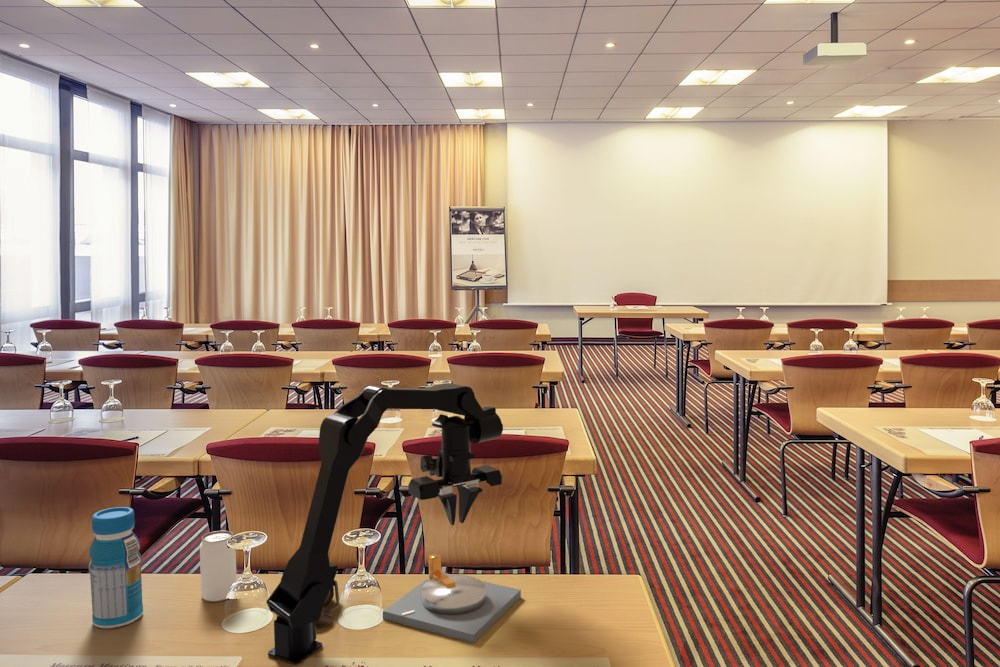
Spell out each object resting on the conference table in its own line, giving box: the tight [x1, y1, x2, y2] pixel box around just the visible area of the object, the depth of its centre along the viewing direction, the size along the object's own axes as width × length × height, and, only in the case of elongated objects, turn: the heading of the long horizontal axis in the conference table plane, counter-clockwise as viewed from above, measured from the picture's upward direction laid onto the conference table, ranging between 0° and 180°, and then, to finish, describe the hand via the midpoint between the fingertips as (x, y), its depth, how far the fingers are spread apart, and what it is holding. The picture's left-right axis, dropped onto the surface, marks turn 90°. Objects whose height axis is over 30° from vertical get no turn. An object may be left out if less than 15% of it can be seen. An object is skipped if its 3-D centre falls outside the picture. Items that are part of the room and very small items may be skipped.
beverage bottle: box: [88, 506, 144, 629], centre depth 127 cm, size 8×8×20 cm
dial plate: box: [382, 571, 522, 644], centre depth 131 cm, size 19×19×2 cm
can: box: [199, 530, 238, 603], centre depth 136 cm, size 6×6×12 cm
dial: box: [422, 553, 486, 614], centre depth 132 cm, size 15×12×6 cm
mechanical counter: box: [316, 579, 340, 628], centre depth 130 cm, size 7×13×10 cm
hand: (456, 523), depth 139 cm, fingers closed
